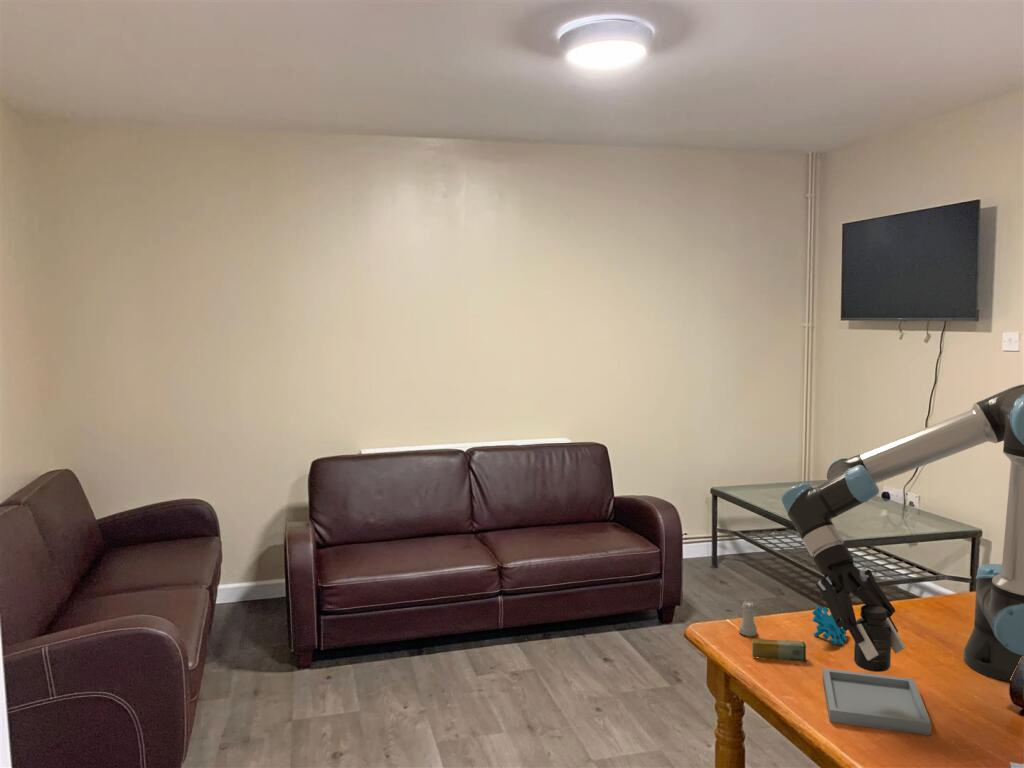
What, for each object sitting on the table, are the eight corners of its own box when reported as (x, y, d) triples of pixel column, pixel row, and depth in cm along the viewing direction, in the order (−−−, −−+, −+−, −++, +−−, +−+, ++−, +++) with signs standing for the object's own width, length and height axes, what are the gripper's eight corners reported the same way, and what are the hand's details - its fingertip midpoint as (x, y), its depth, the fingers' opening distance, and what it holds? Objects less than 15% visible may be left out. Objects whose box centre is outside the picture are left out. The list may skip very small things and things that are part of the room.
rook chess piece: (753, 629, 199) (754, 598, 198) (759, 636, 194) (760, 605, 193) (736, 629, 199) (736, 599, 198) (742, 637, 194) (742, 606, 193)
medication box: (804, 657, 183) (804, 641, 183) (806, 662, 181) (806, 645, 180) (751, 654, 186) (751, 637, 186) (752, 658, 183) (752, 642, 183)
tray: (913, 690, 167) (913, 679, 167) (930, 735, 150) (931, 723, 150) (822, 679, 173) (822, 668, 172) (829, 721, 156) (830, 709, 155)
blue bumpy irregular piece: (833, 645, 185) (809, 607, 191) (815, 657, 189) (792, 618, 194) (858, 639, 192) (834, 602, 197) (840, 650, 195) (817, 613, 201)
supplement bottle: (891, 662, 162) (894, 606, 160) (888, 676, 156) (891, 618, 155) (855, 654, 165) (858, 599, 164) (851, 668, 160) (853, 611, 158)
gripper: (852, 553, 176) (910, 652, 163) (783, 565, 169) (838, 670, 156) (872, 536, 171) (934, 638, 158) (802, 549, 164) (860, 656, 150)
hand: (886, 654), depth 157 cm, fingers closed on supplement bottle, 7 cm apart
